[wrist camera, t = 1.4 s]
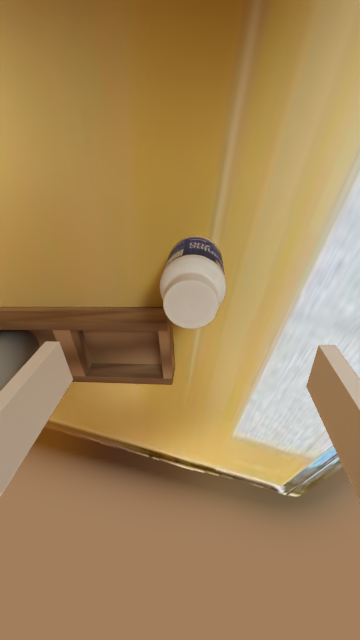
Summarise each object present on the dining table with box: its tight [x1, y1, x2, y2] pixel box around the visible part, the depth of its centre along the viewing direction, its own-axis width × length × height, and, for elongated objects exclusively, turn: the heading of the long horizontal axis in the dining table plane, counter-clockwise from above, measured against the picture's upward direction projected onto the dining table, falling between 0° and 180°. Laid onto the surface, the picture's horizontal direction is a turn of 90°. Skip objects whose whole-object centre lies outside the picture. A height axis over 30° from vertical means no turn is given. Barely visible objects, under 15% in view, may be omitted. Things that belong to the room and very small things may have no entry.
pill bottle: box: [160, 236, 226, 329], centre depth 22 cm, size 5×5×10 cm
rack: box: [0, 307, 175, 385], centre depth 31 cm, size 9×24×4 cm, turn 93°
